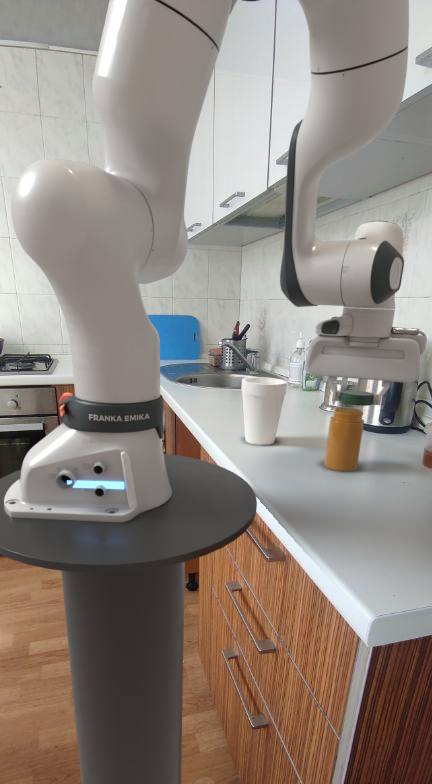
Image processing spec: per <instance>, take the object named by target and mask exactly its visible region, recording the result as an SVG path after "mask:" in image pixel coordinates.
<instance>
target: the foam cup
mask: <svg viewBox="0 0 432 784" xmlns="http://www.w3.org/2000/svg"><path fill="white" fill-rule="evenodd" d="M287 385H288V382H287V381H286V380H284V379H280V378H277V377H265V376H250V377H244V378H242V379H241V388H240V392H241V394H242V409H243V412H242V413H243V423H244V424H243V425H244V426H243V427H244V437H245V442H247V443H248V444H252V445H256V446H268V445H272V444H274V443H275V440H276V435H277V432H278V427H279V423H280V417H281V415H282V414H281V413H282V409H283V405H284V400H285V396H286V394H287Z"/></svg>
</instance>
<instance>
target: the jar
mask: <svg viewBox="0 0 432 784" xmlns="http://www.w3.org/2000/svg"><path fill="white" fill-rule="evenodd" d="M363 415H364V411H362V410H361V409H357V408H350V407H337V408H336V407H335V409H333V415H332V416H331V417H330V418H329V425H328V433H327V442H326V450H325V456H324V466H325V468H327V469H329V470H330V469H331V470H333V471H337V472H354V471H356V470H357V469H358V465H359V458H360V451H361V445H362V439H363V433H364V426H365V420H364V419H363Z"/></svg>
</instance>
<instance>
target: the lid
mask: <svg viewBox="0 0 432 784" xmlns="http://www.w3.org/2000/svg"><path fill="white" fill-rule="evenodd" d="M340 391H341V395H340V401H339V403H341V404H345V405H350V406H360V407H361V406H362V407H366V406H368V407H369V406H372V402H373V395H374V394H375V393H373V392H371V391H370V392H369V391H366V390H365V391H363V390H351V389H349V390H348V389H347V390H340Z"/></svg>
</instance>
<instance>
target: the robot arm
mask: <svg viewBox="0 0 432 784" xmlns="http://www.w3.org/2000/svg"><path fill="white" fill-rule="evenodd" d="M237 1H238V0H109V1H108V5H107V10H106V15H105V20H104V25H103V29H102V33H101V39H100V43H99V47H98V52H97V57H96V61H95V65H94V72H93V76H92V83H91V84H92V85H91V86H92V87H91V88H92V98H93V101H94V105H95V108H96V110H97V112H98V115H99V118H100V121H101V125H102V130H103V143H104V161H103V162H104V164H103V169H102V168H99V167H97V166H95V165H93V164H90V163H89V162H85V161H81V160H72V159H62V158H61V159H60V158H58V159H57V158H43V159H39V160H36V161H35V162H31V164H29V165H28V166H27V167H26V168H25V169H24V170H23V171H22V172H21V173H20V175H19V177H18V178H17V180H16V182H15V185H14V188H13V192H12V197H11V206H10V207H11V208H10V209H11V210H10V211H11V212H10V213H11V221H12V227H13V229H14V233H15V235H16V238H17V240H18V243H19V244H20V246H21V248H22V249H23V251H24V252H25V254H26V255H27V256H28V257H29V258H30V259H31V260H32V261H33V262H34V263H35V264H36V265H37V266H38V268H39V269H40V270H41V271H42V272H43V274H44V276H45V277H46V279H47V280H48V282H49V284H50V286H51V288H52V291H53V292H54V295H55V297H56V299H57V301H58V304H59V307H60V310H61V313H62V315H63V318H64V321H65V325H66V329H67V332H68V337H69V345H70V353H71V363H72V373H73V375H72V376H73V386H74V393H72V392H68V391H67V392H63V394H62V395H61V396H60V398H59V407H58V408H59V409H58V410H59V418H60V422H61V424H59V425H58V426H57V427H55V428H54V429H53V430H52V431H51V432H49V433H48V434H46V436H45V437H43V438H42V439H40V440H39V441H38V442H37V443H36V444H34V445H33V446H32V447H31V448H30V449H29V450H28V451H27V453H26V455H25V456H24V458H23V461H22V464H21V469H20V470H21V478H20V479H19V480H17V481H16V482H15V483H14V484H13V485H12V486H11V487H10V488H9V489H8V491H7V493H6V495H5V498H4V510H5V512H6V513H7V515H9V516H10V517H14V518H32V519H54V520H76V521H98V522H126V521H129V520H131V519H132V518H134V517H135V516H137V515H138V514H140V513H142V512H144V511H147V510H150V509H153V508H156V507H158V506H160V505H162V504H164V503H165V502H167V501H168V500H169V499H170V497H171V495H172V489H171V486H170V483H169V479H168V475H167V471H166V466H165V460H164V454H165V453H164V447H163V437H164V432H165V422H166V421H165V419H166V418H165V416H166V415H165V414H166V413H165V403H164V402H165V401H164V397H163V395H162V394H161V339H160V335H159V332H158V330H157V328H156V327H155V325H154V324H153V323H152V321H151V320H150V318H149V315H148V313H147V310H146V307H145V304H144V300H143V297H142V292H141V288H140V285H146V284H151V283H155V282H158V281H161V280H163V279H166V278H168V277H170V276H172V275H174V274H175V273H176V272H177V271H178V270H179V269H180V268H181V266H182V265H183V263H184V261H185V259H186V256H187V253H188V247H189V235H188V234H189V233H188V230H187V229H188V228H187V225H186V221H185V205H186V195H187V194H186V193H187V184H188V183H187V182H188V175H189V167H190V159H191V153H192V147H193V143H194V138H195V134H196V131H197V128H198V127H197V126H198V123H199V120H200V117H201V113H202V110H203V106H204V103H205V99H206V96H207V94H208V89H209V86H210V83H211V80H212V76H213V73H214V70H215V66H216V63H217V60H218V57H219V53H220V51H221V47H222V44H223V40H224V37H225V34H226V30H227V26H228V23H229V18H230V15H231V14H232V12H233V10H234V7H235V5H236V4H237ZM242 1H244V2H259V1H260V0H242ZM297 1H298V3H299V5H300V7H301V9H302V12H303V14H304V17H305V20H306V25H307V27H308V38H309V40H308V41H309V42H308V43H309V44H308V45H309V46H308V47H309V68H310V69H309V70H310V88H309V97H308V103H307V107H306V109H305V113H304V116H303V118H302V119H301V120H300V121H298V122H297V124H296V125H295V126H294V128H293V130H292V133H291V136H290V137H291V138H290V141H289V145H288V146H289V147H288V153H287V154H288V155H287V165H286V166H287V167H286V180H285V182H286V183H285V205H284V231H283V232H284V234H283V251H282V257H281V263H280V264H281V265H280V273H279V283H280V284H279V287H280V290H281V292H282V294H283V295H284V297H286V299H287V300H288V301H289V302H290V303H291V304H292V305H294V306H295V307H296V308H303V307H318V306H331V307H333V306H334V307H343V308H342V314H341V315H339V316H333V317H330V318H328V319H325V320H321V321H319V322H317V323H316V324H315V329H314V331H315V334H316V335H315V336H314V337H313V338H312V339H311V340H310V342H309V344H308V348H307V351H306V357H305V363H304V371H305V372H306V374H307V375H308V376H319V377H320V376H321V377H328V381H327V383H328V385H329V387H330V390H331V392H332V396H331V401H332V402H340V395H341V391H342V390H338V388H337V385H336V383H337V382H338V378H342V379H343V378H346V379H355V380H356V379H357V380H369V381H381V387H382V389H381V390H380V391H379V393H373V394H374V395H373V402H372V405H373V406H381V403H382V397H383V396H384V395H385V394H386V393H387V392H388V390H389V389H390V387H391V382H392V383H393V382H395V383H404V384H405V383H406V384H413V383H415V382H416V381H417V380H418V379H419V375H420V364H421V356H422V354H423V353H425V350H426V347H427V342H428V338H427V335H426V333H425V332H423V331H421V330H420V328H416V327H412V328H409V327H407V328H406V327H397V326H395V327H394V326H393V324H394V319H395V312H396V300H395V297H396V293H397V292H398V291H399V290H400V288H401V285H402V279H403V273H404V267H405V259H404V257H403V256H404V255H403V253H404V232H403V230H404V229H403V228H402V227H401V226H400V225H399V224H398V223H395V222H391V221H388V220H370V221H366V222H364V223H362V224H360V225H359V226H358V227H357V229H356V231H355V234H354V238H353V239H351V240H321V239H319V238H318V237H317V235H316V234H315V233H316V232H315V231H316V219H317V206H318V196H319V185H320V181H321V178H322V175H323V174H325V172H326V171H327V170H329V169H330V168H331V167H333V166H334V165H335V164H338V163H339V162H341V161H342V160H345V159H347V158H348V157H350V156H351V155H353V154H356V153H357V152H358V151H360V150H361V149H363V148H365V147H366V146H368V145H369V144H370V143H371V142H373V141H374V140H375V139H376V138H378V136H380V135H381V134H382V133H383V132H384V131H385V129H386V128H387V127H388V126H389V125H390V124H391V122H392V121H393V119H394V118H395V116H396V115H397V113H398V110H399V109H400V107H401V105H402V101H403V99H404V94H405V88H406V80H407V73H408V72H407V71H408V62H409V61H408V59H409V40H410V39H409V37H410V36H409V35H410V0H297ZM372 405H371V406H372Z"/></svg>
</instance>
